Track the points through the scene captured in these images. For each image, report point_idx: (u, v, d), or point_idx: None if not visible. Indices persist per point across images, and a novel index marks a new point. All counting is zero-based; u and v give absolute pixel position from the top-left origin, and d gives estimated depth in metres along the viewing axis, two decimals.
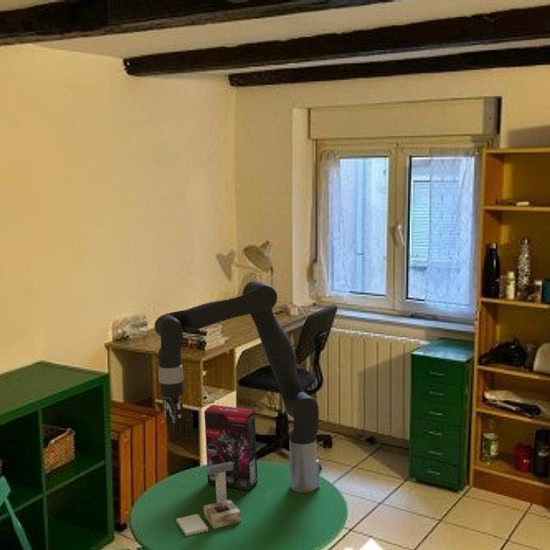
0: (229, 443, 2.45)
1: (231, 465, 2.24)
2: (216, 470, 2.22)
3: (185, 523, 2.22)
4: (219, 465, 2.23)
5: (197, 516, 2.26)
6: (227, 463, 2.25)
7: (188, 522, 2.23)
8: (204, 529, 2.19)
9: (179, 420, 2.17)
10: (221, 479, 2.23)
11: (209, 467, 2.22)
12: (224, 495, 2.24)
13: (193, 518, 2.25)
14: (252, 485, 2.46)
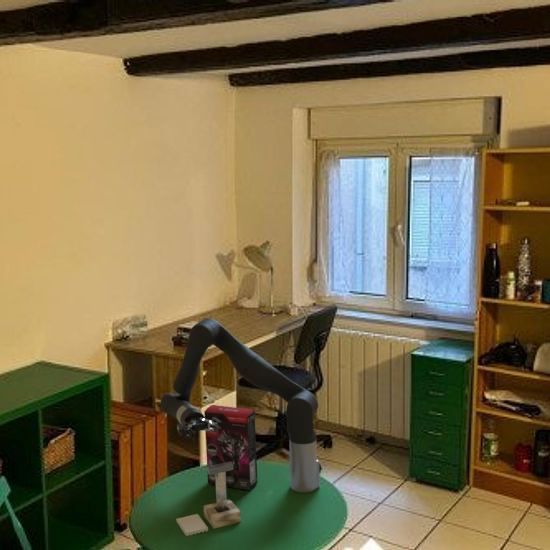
0: (229, 443, 2.45)
1: (231, 465, 2.24)
2: (216, 470, 2.22)
3: (185, 523, 2.22)
4: (219, 465, 2.23)
5: (197, 516, 2.26)
6: (227, 463, 2.25)
7: (188, 522, 2.23)
8: (204, 529, 2.19)
9: (181, 432, 2.35)
10: (221, 479, 2.23)
11: (209, 467, 2.22)
12: (224, 495, 2.24)
13: (193, 518, 2.25)
14: (252, 485, 2.46)
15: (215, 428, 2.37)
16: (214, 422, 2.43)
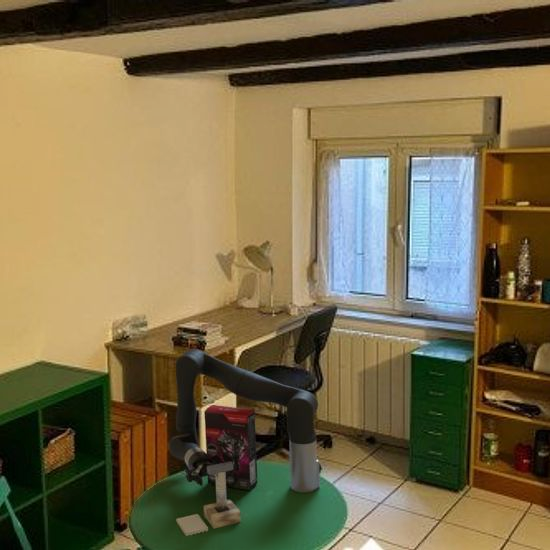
0: (229, 443, 2.45)
1: (231, 465, 2.24)
2: (216, 470, 2.22)
3: (185, 523, 2.22)
4: (219, 465, 2.23)
5: (197, 516, 2.26)
6: (227, 463, 2.25)
7: (188, 522, 2.23)
8: (204, 529, 2.19)
9: (188, 478, 2.32)
10: (221, 479, 2.23)
11: (209, 467, 2.22)
12: (224, 495, 2.24)
13: (193, 518, 2.25)
14: (252, 485, 2.46)
15: None
16: None
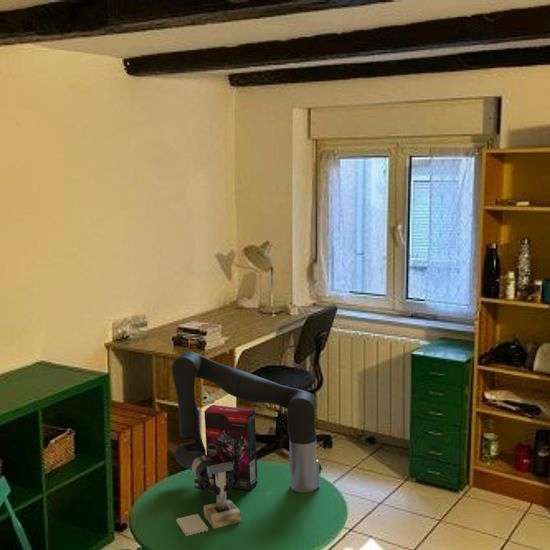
0: (229, 443, 2.45)
1: (231, 465, 2.24)
2: (216, 470, 2.22)
3: (185, 523, 2.22)
4: (219, 465, 2.23)
5: (197, 516, 2.26)
6: (227, 463, 2.25)
7: (188, 522, 2.23)
8: (204, 529, 2.19)
9: (204, 488, 2.25)
10: (221, 479, 2.23)
11: (209, 467, 2.22)
12: (224, 495, 2.24)
13: (193, 518, 2.25)
14: (252, 485, 2.46)
15: (226, 486, 2.25)
16: None
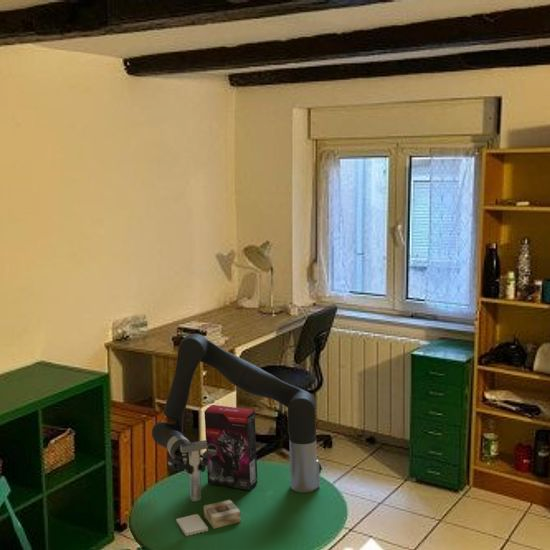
0: (229, 443, 2.45)
1: (205, 444, 2.20)
2: (189, 448, 2.18)
3: (185, 523, 2.22)
4: (193, 443, 2.19)
5: (197, 516, 2.26)
6: (201, 442, 2.20)
7: (188, 522, 2.23)
8: (204, 529, 2.19)
9: (177, 466, 2.21)
10: (195, 458, 2.18)
11: (182, 445, 2.18)
12: (198, 474, 2.20)
13: (193, 518, 2.25)
14: (252, 485, 2.46)
15: None
16: None
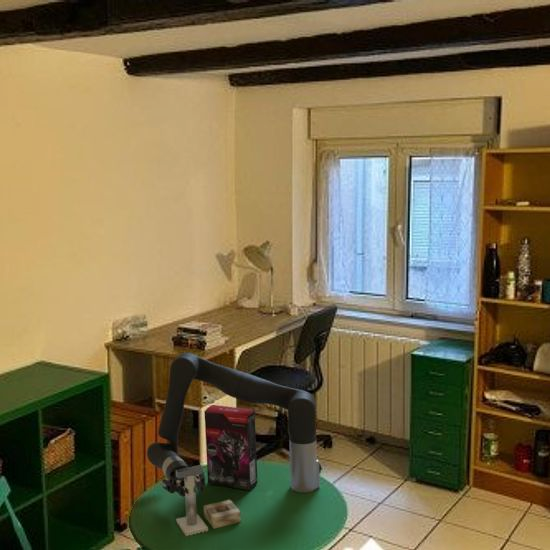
0: (229, 443, 2.45)
1: (200, 468, 2.20)
2: (185, 473, 2.18)
3: (185, 523, 2.22)
4: (188, 468, 2.19)
5: (197, 516, 2.26)
6: (196, 466, 2.20)
7: None
8: (204, 529, 2.19)
9: (170, 489, 2.20)
10: (190, 483, 2.18)
11: (178, 471, 2.18)
12: (193, 499, 2.20)
13: None
14: (252, 485, 2.46)
15: (198, 486, 2.21)
16: (200, 477, 2.27)
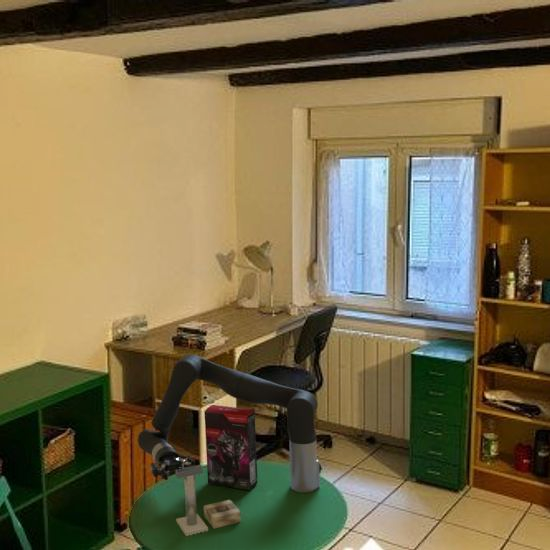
0: (229, 443, 2.45)
1: (200, 468, 2.20)
2: (185, 473, 2.18)
3: (185, 523, 2.22)
4: (188, 468, 2.19)
5: (197, 516, 2.26)
6: (196, 466, 2.20)
7: None
8: (204, 529, 2.19)
9: (153, 473, 2.32)
10: (190, 482, 2.19)
11: (177, 470, 2.18)
12: (193, 499, 2.20)
13: None
14: (252, 485, 2.46)
15: None
16: (189, 461, 2.40)
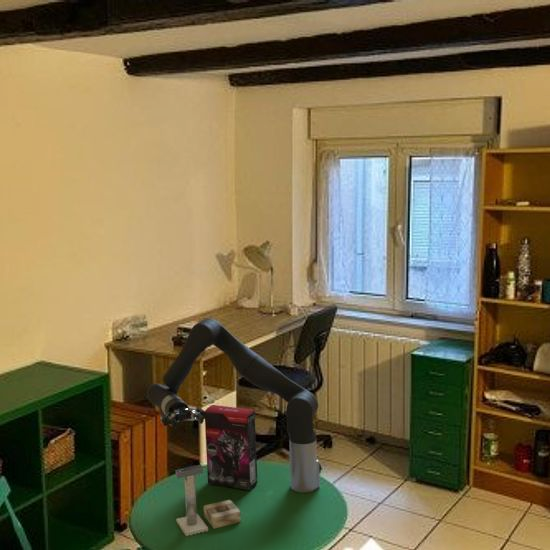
0: (229, 443, 2.45)
1: (200, 468, 2.20)
2: (185, 473, 2.18)
3: (185, 523, 2.22)
4: (188, 468, 2.19)
5: (197, 516, 2.26)
6: (196, 466, 2.20)
7: None
8: (204, 529, 2.19)
9: (163, 421, 2.34)
10: (190, 482, 2.19)
11: (178, 470, 2.18)
12: (193, 499, 2.20)
13: None
14: (252, 485, 2.46)
15: (198, 417, 2.36)
16: (198, 412, 2.42)
